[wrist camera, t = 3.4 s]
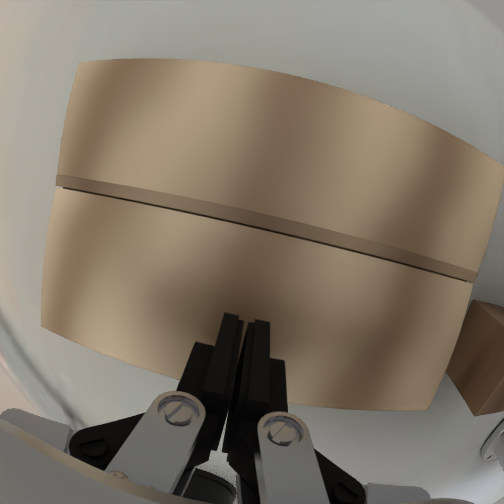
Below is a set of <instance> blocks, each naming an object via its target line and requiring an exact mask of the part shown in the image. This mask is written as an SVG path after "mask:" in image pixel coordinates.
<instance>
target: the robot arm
mask: <svg viewBox="0 0 504 504" xmlns="http://www.w3.org/2000/svg"><path fill="white" fill-rule="evenodd" d="M243 325H244V320H239V315H235V314H231V313H226V312H224V315H223V319H222V322H221V326H220V329H219V333H218V336H217V340H216V343H215V346H213V345H209V344H205V343H200V342H197V341H196V342H195V343H194V346H193V348H192V351H191V353H190V356H189V359H188V361H187V364H186V366H185V369H184V372H183V374H182V377H181V379H180V382H179V385H178V387H177V390H176V391H170V392H165V393H163V394H161V395H159V396H158V397H157V398H156V399H155V400H154V401H153V402H152V404H151V405H150V407H149V408H148V410H147V411H146V412H145V413H142V414H139V415H135V416H132V417H128V418H125V419H121V420H117V421H113V422H109V423H105V424H101V425H97V426H93V427H89V428H85V429H82V430H79V431H77V430H73V429H72V428H71V426H69V425H65V424H62V423H59V422H55V421H52V420H49V419H46V418H43V417H40V416H37V415H34V414H31V413H28V412H26V411H23V410H20V409H15V408H12V409H7V410H6V411H4V412H2V414H1V415H0V504H212V503H206V502H201V501H197V500H192V499H188V498H184V497H183V495H184V493H185V490H186V488H187V486H188V484H189V482H190V479H191V477H192V475H193V473H194V471H195V467H196V466H197V465H200V464H202V463H204V462H206V461H208V460H209V456H210V452H211V450H214V451H217V448H218V445H219V441H220V438H221V434H222V431H223V427H224V424H225V420H226V417H227V413H228V417H227V423H226V429H225V435H224V441H223V447H222V452H224V453H228V455H227V462H229V465H230V466H231V467H232V468H233V469H234V470H235V471H236V472H237V473H236V485H237V498H238V504H474V503H472V502H469V501H465V500H461V499H452V498H433V499H430V495H429V494H428V493H427V491H426V490H424V489H422V488H420V487H413V486H394V485H382V484H373V483H368V484H367V485H362V484H361V483H360V482H358V481H357V480H356V479H355V478H353V477H352V476H350V475H349V474H348V473H346V472H345V471H343V470H342V469H341V468H339V467H338V466H337V465H335V464H334V463H332V462H331V461H330V460H328V459H327V458H326V457H325V456H323V455H322V454H321V453H319V452H318V451H317V450H315V449H314V448H313V444H312V441H311V438H310V434H309V431H308V428H307V426H306V424H305V423H304V422H303V421H302V420H301V419H299V418H298V417H296V416H295V415H292V414H290V413H288V405H287V386H286V368H285V361H284V360H281V359H275V358H270V322H268V321H263V320H258V319H255V321H254V323H253V322H248V326H247V330H246V333H245V337H244V341H243V345H242V349H241V353H240V357H239V361H238V356H239V350H240V344H241V337H242V331H243ZM237 363H238V364H237ZM228 410H229V411H228ZM481 456H482V458H483V460H484V461H487V462H488V461H493V460H495V459H498V461H499V462H500V465H501V467H502V469H503V471H504V421H503V422H502V423H501V424H500V425H499V426H498V427H497V429H496V430H495V431H494V432H493V433H492V435H491V436H490V437H489V439H488V440H487V441H486V443H485V444H484V446H483V448H482V451H481Z"/></svg>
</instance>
